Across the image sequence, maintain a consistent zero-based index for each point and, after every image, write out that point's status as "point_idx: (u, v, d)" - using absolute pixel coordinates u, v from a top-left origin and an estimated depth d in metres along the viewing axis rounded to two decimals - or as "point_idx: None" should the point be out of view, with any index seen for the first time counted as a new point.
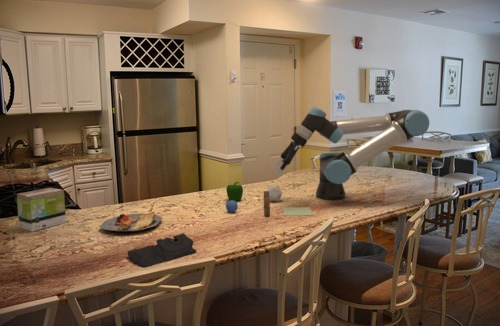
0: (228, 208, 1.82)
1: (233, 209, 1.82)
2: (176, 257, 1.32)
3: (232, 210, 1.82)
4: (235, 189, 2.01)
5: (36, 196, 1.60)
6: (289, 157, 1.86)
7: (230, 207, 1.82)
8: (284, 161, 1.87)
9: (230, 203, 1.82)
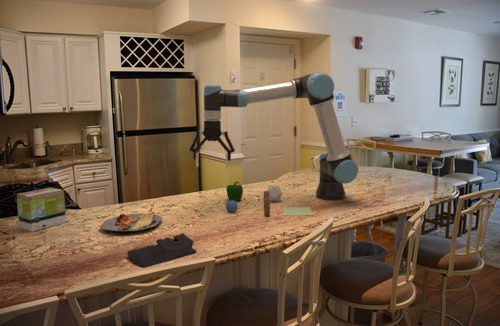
0: (228, 208, 1.82)
1: (233, 209, 1.82)
2: (176, 257, 1.32)
3: (232, 210, 1.82)
4: (235, 189, 2.01)
5: (36, 196, 1.60)
6: (232, 145, 1.80)
7: (230, 207, 1.82)
8: (230, 152, 1.80)
9: (230, 203, 1.82)
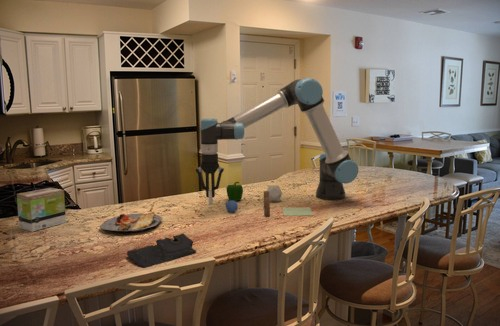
0: (228, 208, 1.82)
1: (233, 209, 1.82)
2: (175, 257, 1.32)
3: (232, 210, 1.82)
4: (235, 189, 2.01)
5: (36, 196, 1.60)
6: None
7: (230, 207, 1.82)
8: (214, 190, 1.82)
9: (230, 203, 1.82)
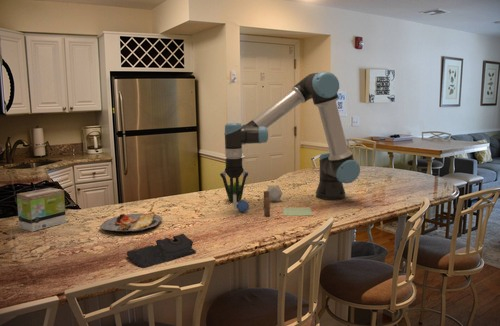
0: (241, 204, 1.82)
1: (240, 209, 1.82)
2: (175, 257, 1.32)
3: (240, 208, 1.82)
4: (235, 189, 2.01)
5: (36, 196, 1.60)
6: (243, 187, 1.83)
7: (242, 207, 1.82)
8: (238, 194, 1.83)
9: (246, 206, 1.82)
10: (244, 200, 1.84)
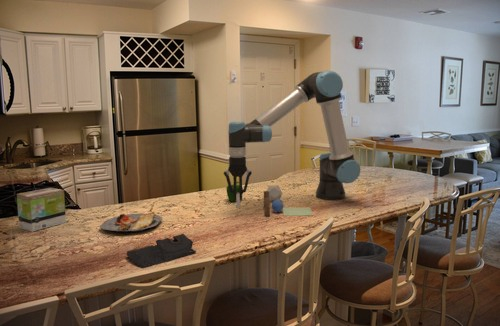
0: (275, 205, 1.81)
1: (276, 210, 1.82)
2: (175, 258, 1.31)
3: (275, 209, 1.82)
4: None
5: (36, 196, 1.60)
6: None
7: (277, 206, 1.81)
8: (241, 193, 1.82)
9: (280, 204, 1.82)
10: (275, 200, 1.84)
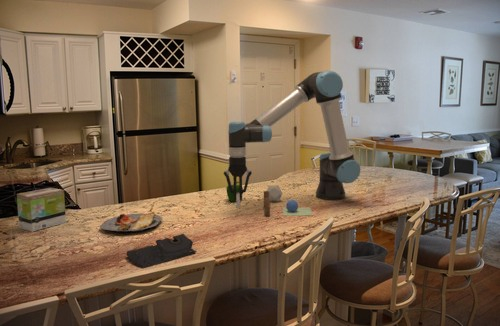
0: (295, 207, 1.81)
1: (291, 204, 1.81)
2: (175, 258, 1.31)
3: (292, 204, 1.81)
4: None
5: (36, 196, 1.60)
6: None
7: (293, 208, 1.81)
8: (241, 193, 1.82)
9: (291, 211, 1.82)
10: None
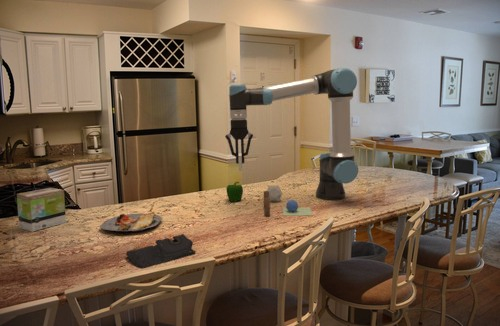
0: (295, 207, 1.81)
1: (291, 204, 1.81)
2: (174, 258, 1.31)
3: (292, 204, 1.81)
4: (235, 189, 2.01)
5: (36, 196, 1.60)
6: (248, 149, 1.84)
7: (293, 208, 1.81)
8: (243, 156, 1.84)
9: (291, 211, 1.82)
10: None
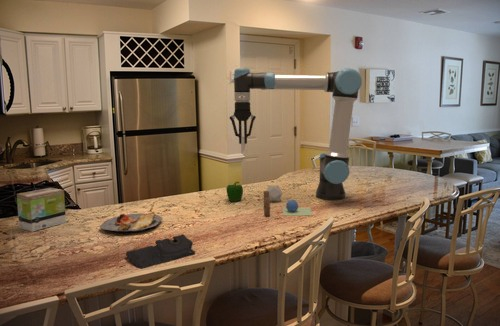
0: (295, 207, 1.81)
1: (291, 204, 1.81)
2: (174, 258, 1.31)
3: (292, 204, 1.81)
4: (235, 189, 2.01)
5: (36, 196, 1.60)
6: None
7: (293, 208, 1.81)
8: (246, 136, 1.94)
9: (291, 211, 1.82)
10: None
